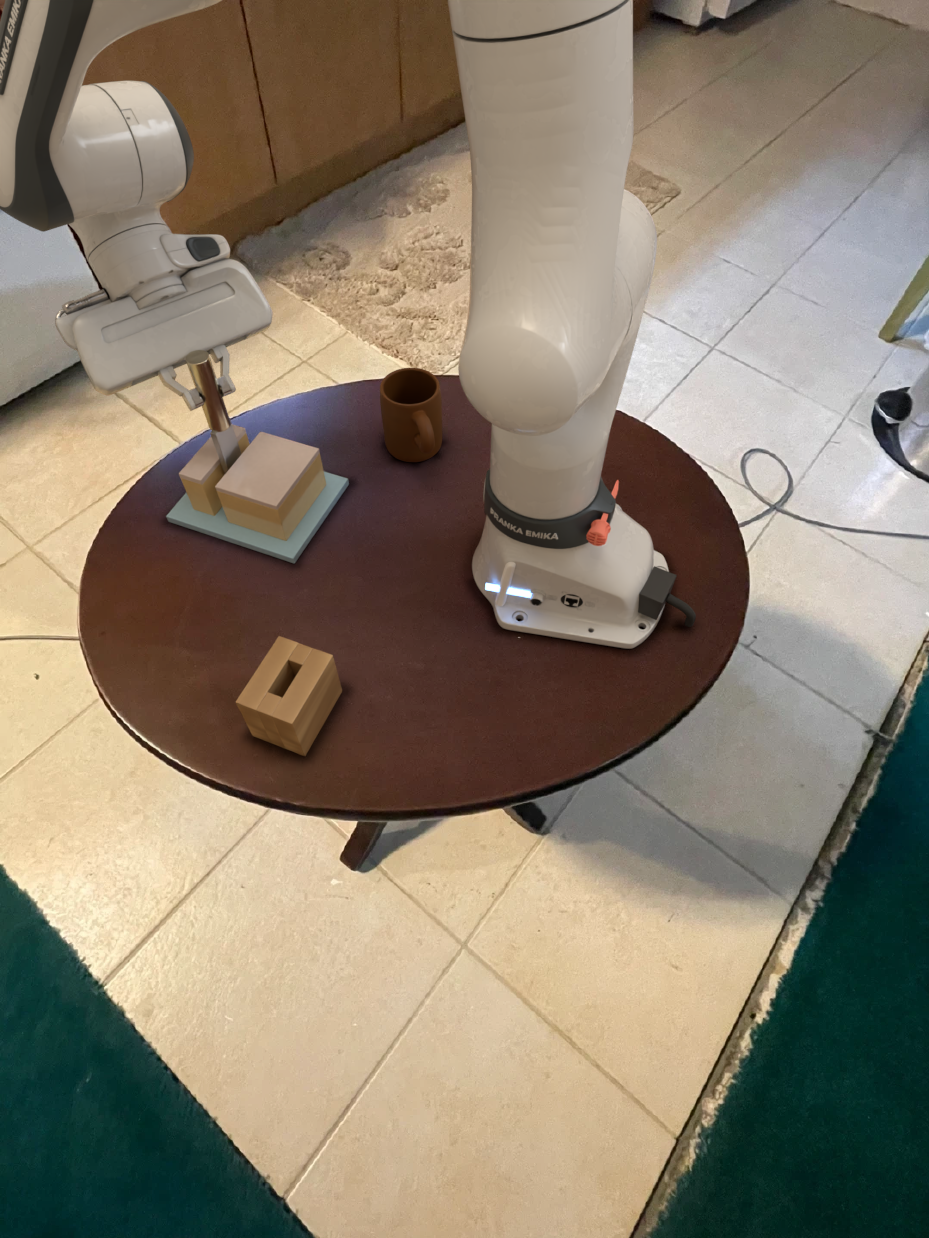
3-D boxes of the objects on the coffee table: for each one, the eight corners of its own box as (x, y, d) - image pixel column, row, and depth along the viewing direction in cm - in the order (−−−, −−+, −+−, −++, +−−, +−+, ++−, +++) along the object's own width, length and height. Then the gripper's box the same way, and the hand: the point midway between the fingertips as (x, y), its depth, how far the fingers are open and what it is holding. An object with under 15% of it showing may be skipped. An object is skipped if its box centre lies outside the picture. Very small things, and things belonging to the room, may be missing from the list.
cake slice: (256, 464, 97) (245, 427, 92) (214, 516, 92) (200, 480, 87) (235, 458, 98) (223, 421, 93) (193, 509, 93) (178, 473, 88)
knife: (252, 471, 93) (215, 351, 79) (239, 487, 91) (198, 368, 77) (235, 466, 93) (195, 345, 79) (222, 482, 92) (178, 362, 78)
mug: (460, 480, 97) (460, 422, 89) (402, 494, 95) (397, 436, 88) (433, 420, 103) (430, 361, 96) (378, 432, 102) (371, 373, 94)
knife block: (342, 690, 79) (333, 655, 74) (305, 756, 75) (292, 724, 69) (291, 672, 81) (278, 635, 75) (252, 735, 76) (235, 702, 71)
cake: (349, 484, 96) (342, 442, 91) (294, 564, 89) (282, 523, 83) (230, 448, 100) (216, 405, 94) (168, 521, 93) (148, 480, 87)
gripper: (43, 299, 72) (122, 435, 76) (237, 231, 79) (301, 358, 83) (47, 319, 78) (121, 445, 82) (228, 253, 85) (289, 371, 89)
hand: (213, 400), depth 82 cm, fingers closed on knife, 2 cm apart
